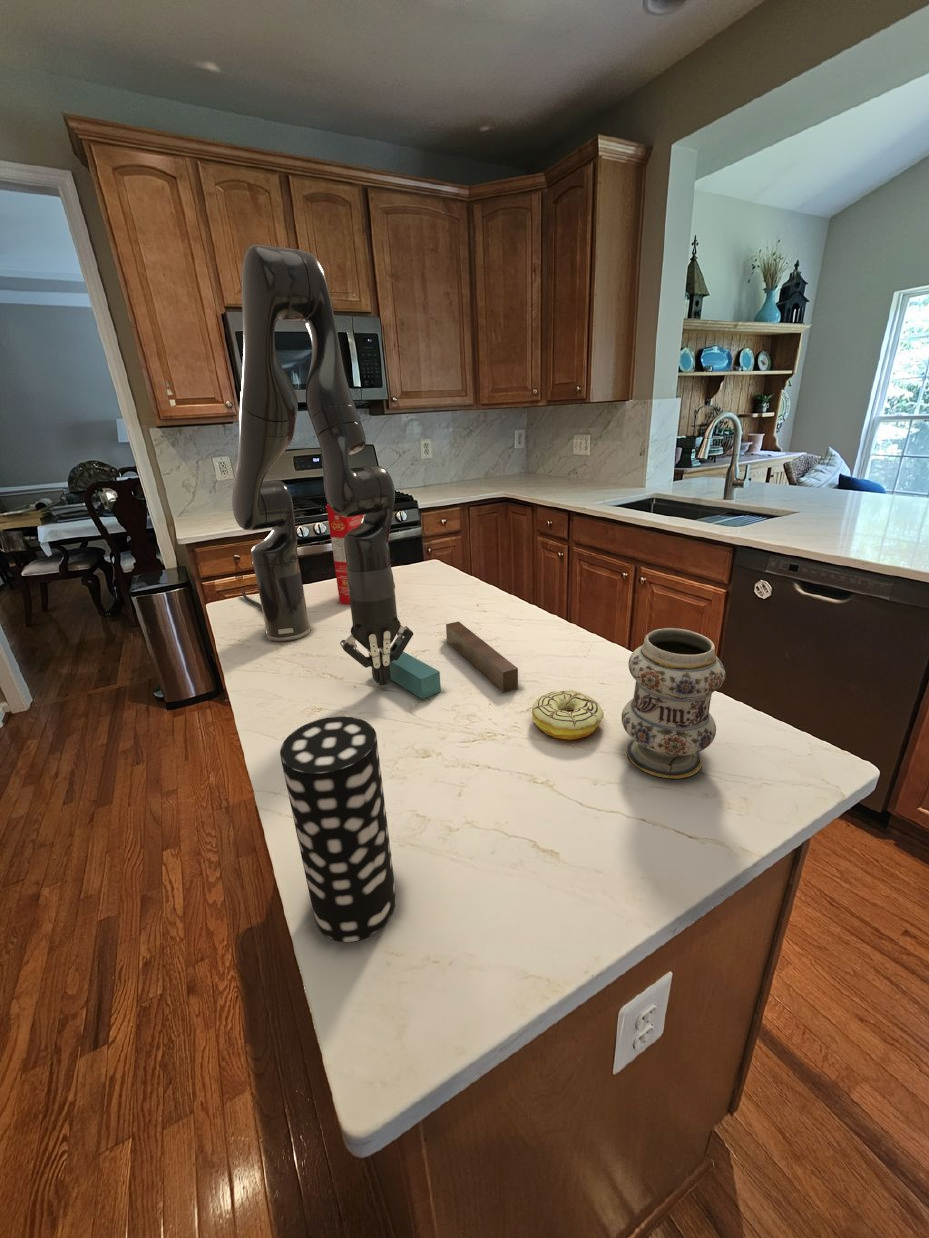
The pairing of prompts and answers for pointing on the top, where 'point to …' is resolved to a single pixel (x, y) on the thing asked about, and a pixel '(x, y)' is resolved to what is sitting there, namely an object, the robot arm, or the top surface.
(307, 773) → the spotted tube
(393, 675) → the teal bar
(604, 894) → the top surface
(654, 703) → the apothecary jar
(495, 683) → the walnut rail
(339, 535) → the food packaging
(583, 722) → the decorated donut
